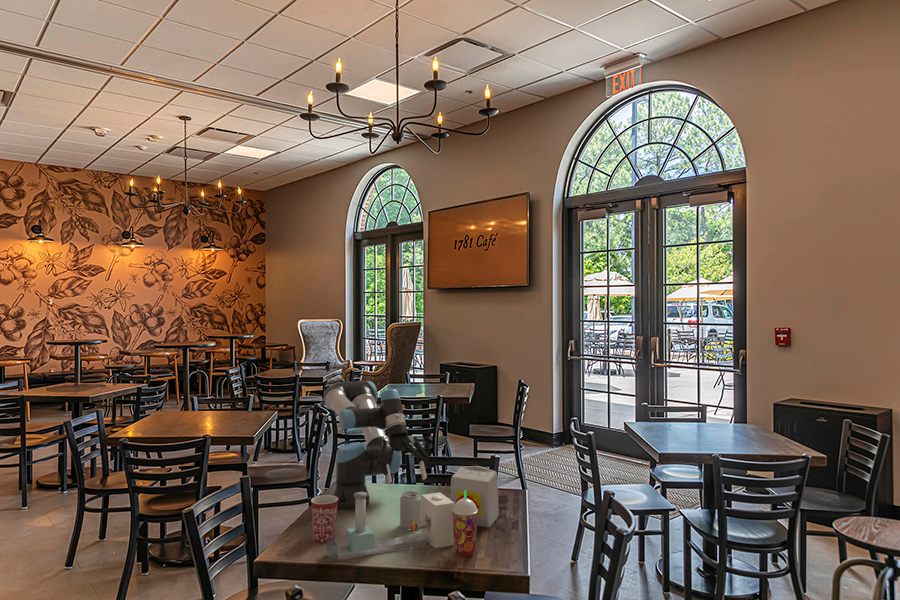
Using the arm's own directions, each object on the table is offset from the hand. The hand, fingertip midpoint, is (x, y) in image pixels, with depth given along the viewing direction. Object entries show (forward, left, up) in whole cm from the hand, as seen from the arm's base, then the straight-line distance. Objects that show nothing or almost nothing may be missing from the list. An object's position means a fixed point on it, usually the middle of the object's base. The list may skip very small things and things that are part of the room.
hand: (407, 481), depth 218 cm
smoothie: (+32, +8, -16) cm, 36 cm away
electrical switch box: (+10, +22, -16) cm, 28 cm away
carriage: (+19, -23, -13) cm, 33 cm away
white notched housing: (+19, +4, -15) cm, 25 cm away
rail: (+19, -17, -15) cm, 30 cm away
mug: (+1, -30, -16) cm, 34 cm away
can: (+4, 0, -16) cm, 16 cm away
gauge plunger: (+19, -1, -11) cm, 22 cm away
